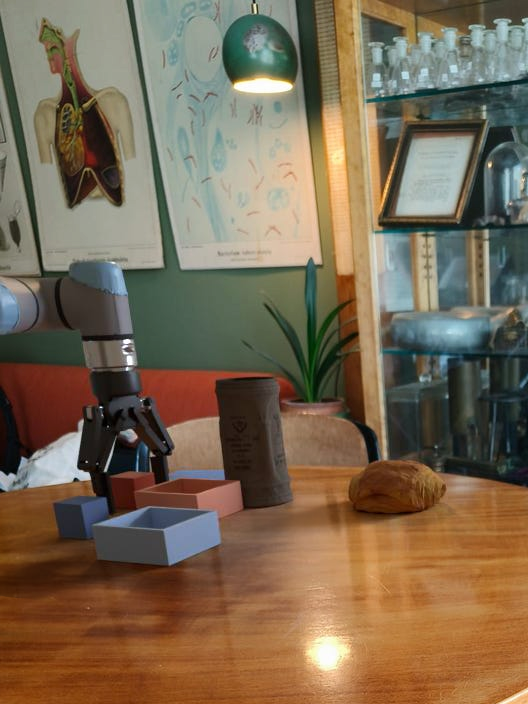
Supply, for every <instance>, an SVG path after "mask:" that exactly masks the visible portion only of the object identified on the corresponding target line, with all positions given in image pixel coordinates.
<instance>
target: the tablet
mask: <svg viewBox="0 0 528 704" xmlns="http://www.w3.org/2000/svg"><path fill="white" fill-rule="evenodd" d="M168 475H169V481H171V480H174V479H178V478H199V479H218V480H225V476H224V469H178V470H175V471H173V472H171V473H169V474H168Z"/></svg>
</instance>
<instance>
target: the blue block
mask: <svg viewBox="0 0 528 704" xmlns="http://www.w3.org/2000/svg"><path fill="white" fill-rule="evenodd" d="M52 507H53V512H54V517H55V521H56V526H57V532H58V536H59V538H64V539H76V540H91V539H94V537H93V532H92V527H91V525H94V524H97V523H100V522H103V521H106V520H109V519H111V517H110V514H109V511H108V506H107V500H106V497H96V496H92V495H76V496H72V497H68V498H66V499H65V498H64V499H61V500H59V501H55V502H52Z"/></svg>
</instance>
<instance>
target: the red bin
mask: <svg viewBox="0 0 528 704" xmlns="http://www.w3.org/2000/svg"><path fill="white" fill-rule="evenodd" d="M134 495H135V501H136V507H137V509H136V510H139V509H142V508H145V507H148V506H153V507H168V508H184V509H200V510H215V511H217V516H218V520H219V519H223V518H224V517H227V516H230V515H232V514H235V513H238V512H240V511H242V510H244V507H243V502H242V493H241V485H240V481H238V480H237V481H236V480H218V479H199V478H178V479H174V480H171V481H168V482H164V483H161V484H158V485H154V486H151V487H148V488H144V489H141V490H138V491H134Z"/></svg>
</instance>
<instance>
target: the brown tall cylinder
mask: <svg viewBox="0 0 528 704" xmlns="http://www.w3.org/2000/svg"><path fill="white" fill-rule="evenodd" d="M280 392H281V386H280V384H279V379H278V377H276V376H239V377H227V378H217V379H216V380H215V388H214V393H215V397H216V403H217V410H218V431H219V440H220V445H221V446H220V448H221V449H220V450H221V457H222V466H223V467H222V469H223V470H224V476H225V480H236V481H237V480H238V481H240V485H241V493H242V502H243V508H263V507H264V508H265V507H271V506H277V505H283V504H286V503H288V502H290V501H292V500H293V498H294V493H293V489H292V488H291V480H292V478H291V475H290V474H289V471H288V470H289V469H288V463H287V457H286V450H285V443H284V435H283V434H284V433H283V425H282V418H281V408H280V396H279V395H280Z"/></svg>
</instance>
